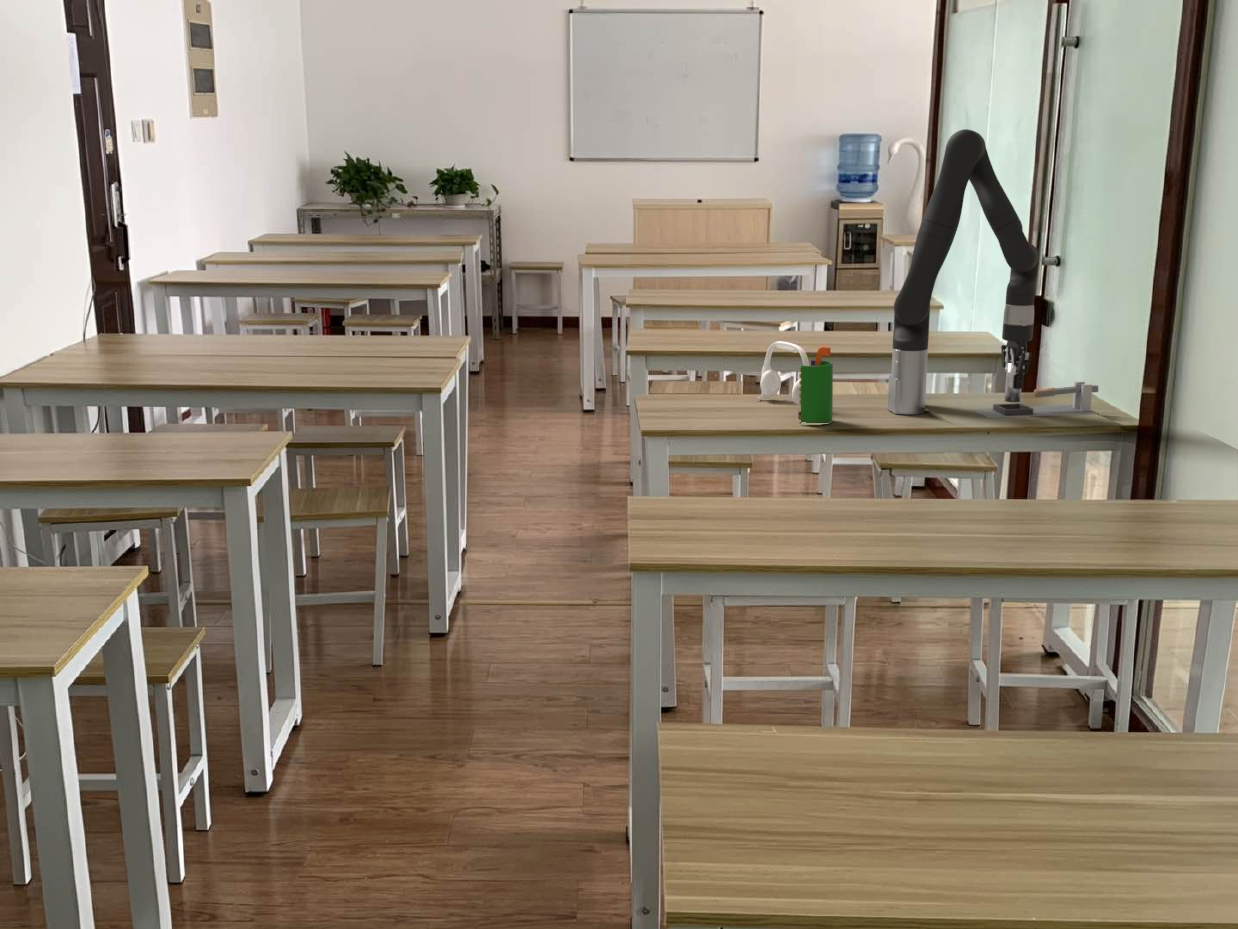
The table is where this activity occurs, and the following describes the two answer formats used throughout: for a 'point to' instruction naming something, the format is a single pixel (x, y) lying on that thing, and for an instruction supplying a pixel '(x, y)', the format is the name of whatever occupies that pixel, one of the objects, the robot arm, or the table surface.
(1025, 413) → the grey flat base
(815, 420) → the green cup with straw
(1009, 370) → the translucent white cylinder
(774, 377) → the headset
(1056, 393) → the lever
